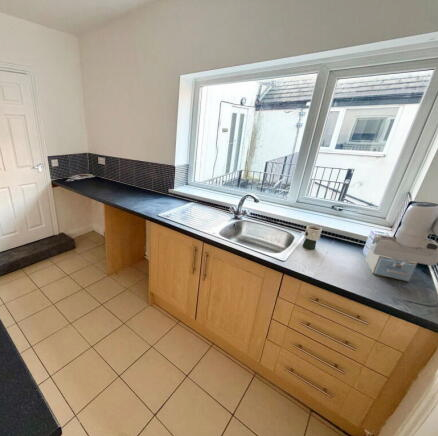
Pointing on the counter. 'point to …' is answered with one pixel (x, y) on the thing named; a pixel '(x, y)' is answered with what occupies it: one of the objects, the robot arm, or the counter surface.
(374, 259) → the compartment unit
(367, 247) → the syrup box
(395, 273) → the drawer
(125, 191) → the counter surface
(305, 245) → the character mug
